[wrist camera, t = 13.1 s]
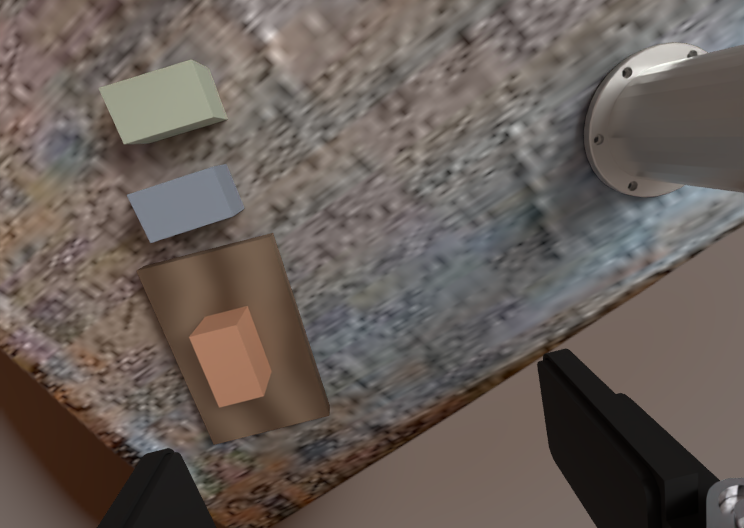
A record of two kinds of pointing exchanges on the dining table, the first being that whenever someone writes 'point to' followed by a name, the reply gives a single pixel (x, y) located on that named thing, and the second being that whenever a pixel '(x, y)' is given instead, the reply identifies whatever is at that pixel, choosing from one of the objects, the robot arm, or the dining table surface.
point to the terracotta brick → (231, 356)
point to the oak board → (271, 319)
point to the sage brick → (164, 103)
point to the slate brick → (186, 203)
